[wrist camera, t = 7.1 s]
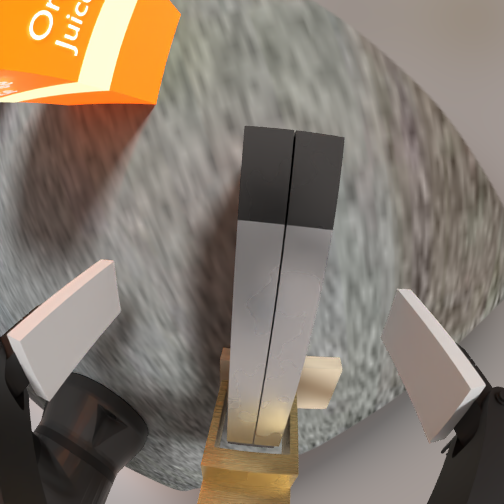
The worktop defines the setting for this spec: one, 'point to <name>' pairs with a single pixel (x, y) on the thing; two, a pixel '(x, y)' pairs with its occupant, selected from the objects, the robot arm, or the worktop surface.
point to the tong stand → (302, 382)
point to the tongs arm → (299, 275)
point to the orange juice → (84, 50)
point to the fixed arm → (256, 270)
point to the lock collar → (247, 465)
